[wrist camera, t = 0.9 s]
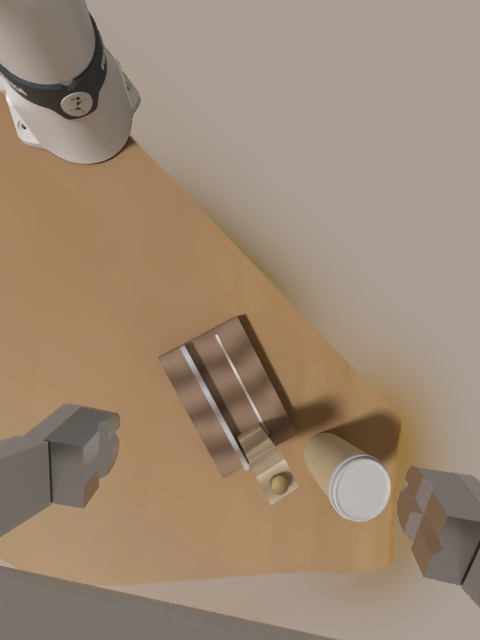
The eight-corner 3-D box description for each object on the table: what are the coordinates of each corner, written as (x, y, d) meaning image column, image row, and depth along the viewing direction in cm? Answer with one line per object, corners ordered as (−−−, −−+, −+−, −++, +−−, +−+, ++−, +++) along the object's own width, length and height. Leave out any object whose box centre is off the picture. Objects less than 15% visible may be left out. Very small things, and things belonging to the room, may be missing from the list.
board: (159, 356, 49) (157, 359, 46) (235, 316, 52) (239, 316, 48) (222, 472, 51) (224, 483, 48) (292, 428, 54) (300, 436, 50)
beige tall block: (237, 436, 49) (258, 481, 36) (262, 421, 50) (293, 459, 36) (248, 457, 50) (273, 510, 36) (273, 441, 51) (307, 487, 37)
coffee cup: (298, 481, 54) (331, 526, 42) (300, 428, 54) (333, 458, 42) (347, 478, 56) (391, 521, 44) (349, 426, 56) (394, 455, 44)
